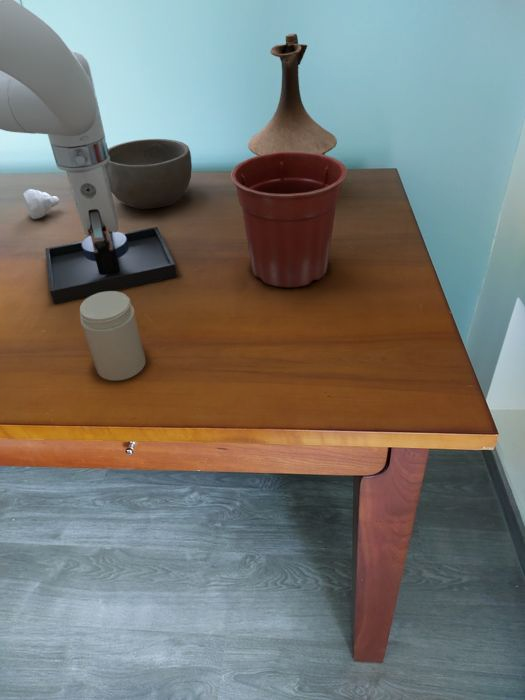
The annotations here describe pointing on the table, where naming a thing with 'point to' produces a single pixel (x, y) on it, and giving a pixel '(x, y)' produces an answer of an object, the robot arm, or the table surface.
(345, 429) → the table surface
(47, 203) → the garlic bulb
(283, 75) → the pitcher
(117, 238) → the jar lid
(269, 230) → the flower pot
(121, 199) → the bowl
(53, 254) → the tray
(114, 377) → the jar
